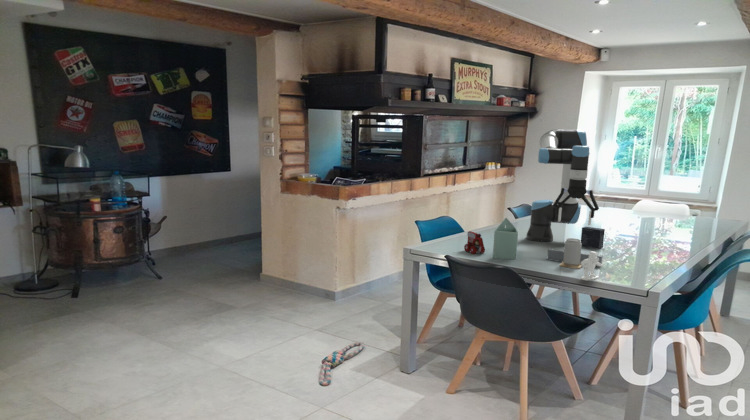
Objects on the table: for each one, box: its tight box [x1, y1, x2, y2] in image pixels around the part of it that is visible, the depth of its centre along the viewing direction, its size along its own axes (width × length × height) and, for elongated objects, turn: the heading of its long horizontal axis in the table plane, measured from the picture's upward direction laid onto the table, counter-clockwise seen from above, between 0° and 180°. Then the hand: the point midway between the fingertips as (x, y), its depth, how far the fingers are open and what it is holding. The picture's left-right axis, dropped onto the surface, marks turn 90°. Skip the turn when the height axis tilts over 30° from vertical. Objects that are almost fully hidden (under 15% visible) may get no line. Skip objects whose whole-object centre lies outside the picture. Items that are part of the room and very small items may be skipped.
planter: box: [492, 217, 519, 260], centre depth 244 cm, size 16×8×20 cm, turn 126°
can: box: [563, 237, 583, 266], centre depth 231 cm, size 8×8×12 cm
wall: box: [546, 247, 604, 268], centre depth 238 cm, size 24×4×5 cm, turn 59°
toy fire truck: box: [463, 230, 486, 255], centre depth 253 cm, size 7×12×10 cm, turn 24°
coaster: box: [559, 261, 583, 270], centre depth 232 cm, size 9×9×1 cm
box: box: [580, 226, 606, 250], centre depth 273 cm, size 11×7×10 cm, turn 47°
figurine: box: [580, 250, 606, 281], centre depth 210 cm, size 9×7×12 cm
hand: (574, 222), depth 234 cm, fingers open, 13 cm apart
